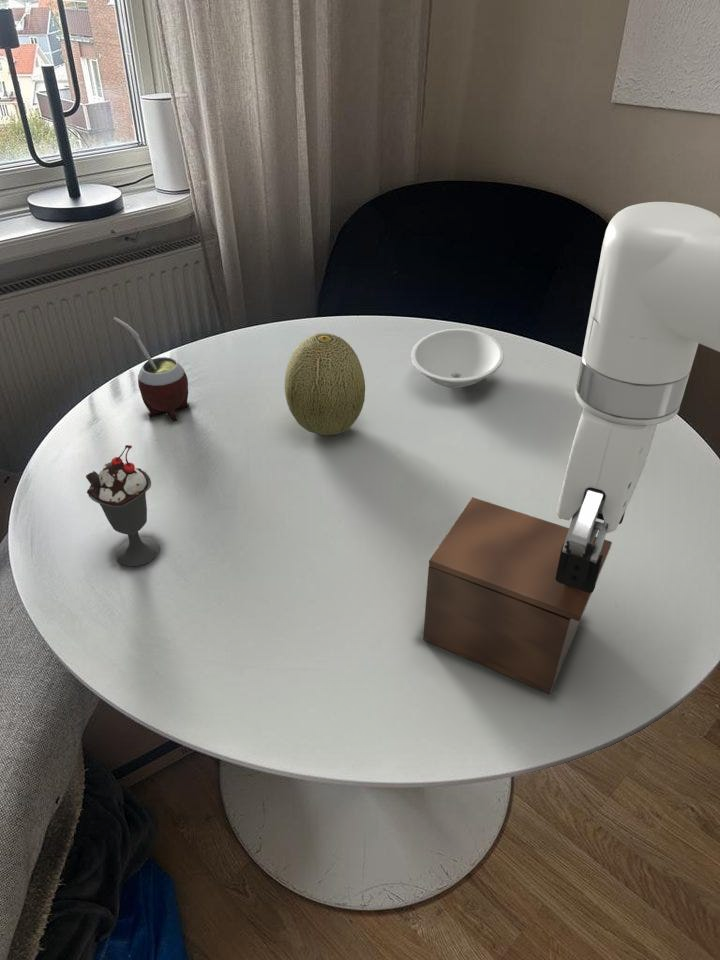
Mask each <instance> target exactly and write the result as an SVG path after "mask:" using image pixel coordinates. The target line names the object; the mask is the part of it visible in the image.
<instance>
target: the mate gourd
mask: <svg viewBox="0 0 720 960" xmlns="http://www.w3.org/2000/svg"><path fill="white" fill-rule="evenodd" d="M113 320H114V321H116V322H117V323H119V324H120V325H121V326H122V327H124V328H125V329H126V330H127V331H129V333H130V335H131V337H133V340H135V341H136V343H137V344H138V347H139V348H140V349H141V351H142V353H143V355H144V356H145V358H146V360H147V361H145V362H144V363H143V364H142V365H141V366H140V368H139V369H140V370H139V372H138V375H137V384H138V385H137V386H138V389H139V392H140V396H141V399H142V402H143V404H144V405H145V407H146V409H147V411H148V413H147V415H148V418H156V417H159V416H163V415H167V416H168V417H169V419H170V421H171V422H172V423H174V422H177V421H178V418H177V415H176V414H175V412H179V411H183V410H186V409H189V408H190V403H189V402H188V398H189V379H188V375H187V374H186V371H185V368H184V367H183V366H182V364H181V363H180V362H179V361H177V360H176V359H174V358H173V357H166V356H161V357H154V358H151V356H150V354H149V352H148V350H147V349H146V347H145V345H144V344H143V342H142V340H141V338H140V335H139V334H138V332H137V331H136V330H135V329H134V328H132V327H131V326H130V325H129V323H126V322H125V321H123V320H121V319H120V318H118V317H117V316H114V317H113Z"/></svg>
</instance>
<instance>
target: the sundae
mask: <svg viewBox="0 0 720 960" xmlns="http://www.w3.org/2000/svg"><path fill="white" fill-rule="evenodd" d="M132 448H133V445H131V444H130V445H129V444H126V445H124V449H123V450H122V452H121V453H120V455H119V456H115V457H113V458H112V459H111V461H110V462H108V463H105V464H104V465H103V467H102V468H101V469H100V470H99V473H98V472H96V471H95V470H93V471H92V472H91V471H90V472H89V473H87V474H86V475H85V478H86V480H87V481H88V482H89V484H90V485H89V488H88V489H87V490H86V494H88V495H87V496H88V497H89V498H90V500H92V501H93V502H95V503H97V504H98V505H99V506H100V507H101V510H102V511H103V514H104V516H105V517H106V519H107V521H108V523H109V524H110V526H111V527H112V528H113V530H115V531H116V532H117V533H120V534H123V535H127V537H128V540H126V541H125V542H123V543H122V544H121V545H120V546H119V547H118V549H117V551H116V559H117V561H118V562H119V563H120V564H121V565H123V566H127V567H139V566H143V565H146V564H147V563H150V562H151V561H153V560H154V559H155V558H156V557H157V555H158V553H159V552H160V544H159V543H158V542H157V540H155V539H153V538H151V537H149V536H140V534H139V531H141V530H142V529H143V528H144V527H145V525H146V524H147V521H148V505H147V497H146V496H147V495H146V494H147V491H149V490H150V488H151V486H152V479H151V476H150V475H149V474H148V473H147V472H146V471H145V470H143V469H142V468H140V467H137V468H136V467H135V466H136V465H135V464H134V463H133V462H129V461H128V453H129V451H130V449H132ZM126 449H127V451H126V453H125V450H126ZM124 453H125V463H124V461H123V458H121V457H122V456H123V455H124Z"/></svg>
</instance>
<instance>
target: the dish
mask: <svg viewBox="0 0 720 960" xmlns="http://www.w3.org/2000/svg"><path fill="white" fill-rule="evenodd" d="M504 359H505V351H504V348H503V346H502V345H501V343H500V342H499V341H498V340H497V339H496V338H495V337H493V336H491V334H490V335H489V334H487V333H485V332H482V331H479V330H475V329H472V328H471V329H470V328H446V329H441V330H438V331H435V332H431V333H429V334H426V335H425V336H424V337H422V338H420V340H419V339H418V341H417V342H416V343H415V345H413V348H412V350H411V362H412V364H413V366H414V367H415V368H416V369H417V370H418V371H419V373H421V374H422V375H424V376H425V377H426V378H428V379H429V380H430V381H432V382H433V383H434V384H435V383H436V384H438V385H440V386H442V387H446V388H464V387H468V386H473V385H475V384H477V383H479V382H481V381H482V380H484V379H486V378H487V377H489V376H491V375H492V374H494V373H495V372H497V370H498V369H499V368H500V367H501V366H502V365H503V362H504Z"/></svg>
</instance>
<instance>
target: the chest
mask: <svg viewBox="0 0 720 960" xmlns="http://www.w3.org/2000/svg"><path fill="white" fill-rule="evenodd" d="M424 607H425V610H424V621H423V622H424V623H423V632H422V633H423V635H422V639H423V641H425V642H428V643H430V644H432V645H435V646H437V647H440V648H442V649H444V650H446V651H449V652H451V653H453V654H455V655H458V656H460V657H463V658H464V659H467V660H469V661H472V662H475V663H476V664H479V665H481V666H484V667H485V668H488V669H490V670H493V671H495V672H497V673H499V674H502V675H504V676H507V677H509V678H512V679H513V680H516V681H518V682H521V683H522V684H525V685H528V686H530V687H531V688H535V689H537V690H539V691H541V692H543V693H546V694H549V695H551V693H552V691H553V689H554V686H555V684H556V682H557V680H558V679H557V678H558V676H559V674H560V671H561V669H562V667H563V664H564V662H565V659H566V657H567V654H568V652H569V650H570V647H571V645H572V643H573V640H574V637H575V635H576V632H577V630H578V628H579V625H580V623H581V621H580V622H579V621H576V620H573V619H571V618H568V617H565V616H562V615H560V614H557V613H554V612H552V611H549V610H546V609H544V608H541V607H538V606H536V605H533V604H530V603H527V602H525V601H522V600H519V599H517V598H514V597H511V596H509V595H506V594H503V593H501V592H498V591H495V590H492V589H490V588H487V587H484V586H482V585H479V584H476V583H474V582H471V581H468V580H466V579H463V578H460V577H457V576H455V575H452V574H449V573H447V572H444V571H441V570H439V569H436V568H433V567H431V566H429V565H428V569H427V583H426V596H425V606H424Z"/></svg>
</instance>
